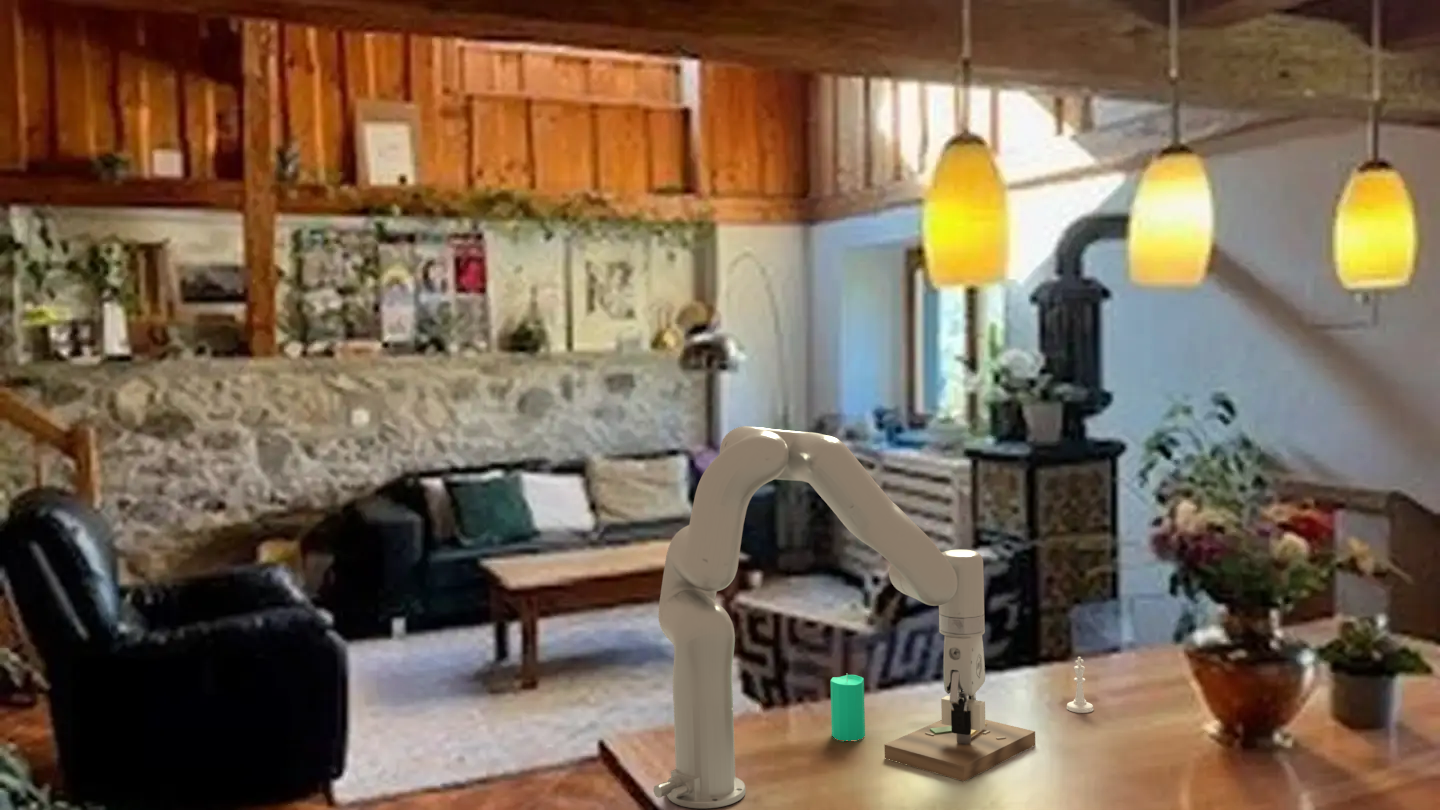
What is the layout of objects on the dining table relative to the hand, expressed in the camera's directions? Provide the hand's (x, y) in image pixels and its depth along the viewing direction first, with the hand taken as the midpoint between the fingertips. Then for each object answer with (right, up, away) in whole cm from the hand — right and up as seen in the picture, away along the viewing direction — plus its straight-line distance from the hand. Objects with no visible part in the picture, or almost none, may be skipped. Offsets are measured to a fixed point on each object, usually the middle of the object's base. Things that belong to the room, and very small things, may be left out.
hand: (964, 729), depth 207 cm
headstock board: (0, -5, +3) cm, 6 cm away
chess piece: (+27, -3, +24) cm, 36 cm away
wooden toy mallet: (+2, -2, +3) cm, 4 cm away
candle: (-18, -5, +13) cm, 23 cm away
